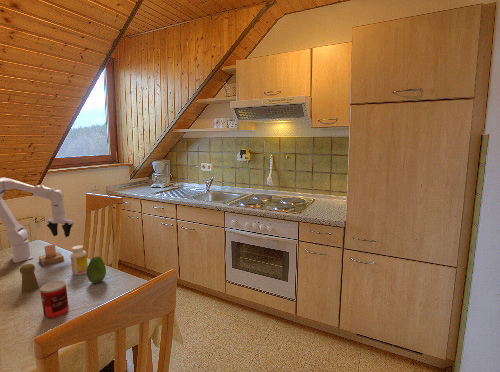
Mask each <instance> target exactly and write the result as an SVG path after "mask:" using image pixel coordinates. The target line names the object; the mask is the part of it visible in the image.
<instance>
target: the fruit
mask: <svg viewBox="0 0 500 372" xmlns="http://www.w3.org/2000/svg"><path fill="white" fill-rule="evenodd" d="M106 269H107V268H106V264H105V262H104V260H103V258H102V257H101V256H94V257H92V258H91V259H90V261H88V267H87V271H86V273H85V274H86V277H87V281H89V282H90V283H91V284H99V283H101V282H102V281H103V280H105V277H106V275H107V270H106Z"/></svg>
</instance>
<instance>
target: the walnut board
mask: <svg viewBox="0 0 500 372" xmlns="http://www.w3.org/2000/svg"><path fill="white" fill-rule="evenodd" d="M38 261H39V262H40V264H41V265H42V266H43V267H46V266H50V265H53V264H56V263H60V262H64V261H65V258H64V255H63V254H62V253H61V252H60V251H56V256H55V257H52V258H46V255H45V254H43V255H40V256H38Z"/></svg>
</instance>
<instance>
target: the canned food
mask: <svg viewBox="0 0 500 372" xmlns="http://www.w3.org/2000/svg"><path fill="white" fill-rule="evenodd" d="M39 289H40V290H39V291H40V297H41V304H42V310H43V315H44V317H45V318H46V319H58V318H60V317H61V316H64V315H66V313H68V312H69V308H70V306H69V300H68V291H67V283H66V281H64V280H53V281H50V282H47V283H44V284H42V286H41V287H39Z"/></svg>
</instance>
